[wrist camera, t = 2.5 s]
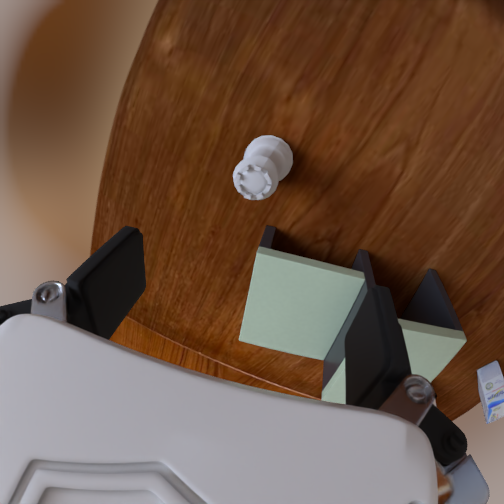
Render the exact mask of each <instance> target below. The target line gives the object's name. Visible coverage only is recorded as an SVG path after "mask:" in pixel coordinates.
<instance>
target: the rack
mask: <svg viewBox="0 0 504 504" xmlns="http://www.w3.org/2000/svg"><path fill="white" fill-rule="evenodd" d="M275 230H276V227H272V226H268V225H267V226H266V228H265V231H264V234H263V237H262V239H261V242H260V245H259V248H258V251H257V254H256V259H255V263H254V268H253V273H252V278H251V283H250V288H249V293H248V298H247V303H246V307H245V312H244V317H243V322H242V327H241V332H240V337H239V341H243V342H246V343H250V344H254V345H258V346H262V347H266V348H270V349H274V350H279V351H283V352H287V353H292V354H296V355H301V356H305V357H310V358H315V359H320V360H324V369H323V387H322V401H328V402H334V403H341V404H346V385H345V345H344V341H345V336H346V333H347V331H348V329H349V327H350V326H351V324H352V322H353V320H354V318H355V316H356V314H357V312H358V310H359V308H360V306H361V304H362V302H363V299H364V297H365V295H366V293H367V291H368V289H369V288H370V287H372V288H373V287H374V286H375V285H376V284H375V280H374V275H373V271H372V267H371V263H370V259H369V255H368V251H365V250H361V249H359V251H358V254H357V256H356V258H355V261H354V263H353V266H352V268H351V269H348V268H344V267H340V266H336V265H333V264H329V263H325V262H321V261H317V260H313V259H309V258H305V257H301V256H297V255H293V254H289V253H285V252H281V251H277V250H273V249H271V247H272V243H273V239H274V234H275ZM398 322H399V324H400V325H401V327H402V331H403V335H404V339H405V343H406V348H407V352H408V357H409V361H410V366H411V371H412V374H418V375H421V376H423V377H425V378H426V379H427V380H428V381H429V382H431V381H432V380H433V379H434V378H435V377H436V376H437V375H438V374H439V373H440V372H441V371H442V370H443V368H444V367H445V366H446V365H447V364H448V363H449V362H450V360H451V359H452V358H453V357H454V356H455V355H456V353H457V352H458V351H459V350H460V349H461V347H462V346H463V345H464V344H465V342H466V341H467V340H466V337H465V334H464V332H463V329H462V327H461V324H460V322H459V320H458V317H457V315H456V313H455V310H454V308H453V306H452V303H451V301H450V299H449V297H448V295H447V293H446V291H445V288H444V286H443V284H442V282H441V280H440V278H439V276H438V274H437V272H436V270H433V269H428V271H427V273H426V275H425V277H424V279H423V281H422V282H421V284H420V286H419V288H418V290H417V291H416V293H415V295H414V297H413V298H412V300H411V302H410V303H409V305H408V307H407V308H406V310H405V312H404V313H403V315H402V317H401V318H400V319H398Z"/></svg>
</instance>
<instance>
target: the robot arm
mask: <svg viewBox="0 0 504 504" xmlns="http://www.w3.org/2000/svg"><path fill="white" fill-rule="evenodd" d="M145 287H146V278H145V266H144V251H143V235H142V233H140V231H139V229H138V228H133V227H129V226H125V227H123V228H122V229H121V230H120V231H119V232H118V233H116V234H115V235H114V236H113V237H112V238H111V239H109V240H108V241H107V242H106V243H105V244H104V245H103V246H102V247H100V248H99V249H98V250H97V251H96V252H95V253H94V254H93V255H92V256H90V257H89V258H88V259H87V260H86V261H85V262H84V263H83V264H82V265H81V266H80V267H79V268H78V269H77V270H75V271H74V272H73V273H72V274H71V275H70V276H69V277H68V278H67V283H66V285H63V284H62V283H60V282H59V281H48V282H45V283H43V284H41V285H39V286H38V287H37V288H36V289H35V291H34V292H33V296H32V299H30V300H26V301H21V302H17V303H13V304H8V305H4V306H0V504H486V503H487V501H488V499H489V487H488V485H487V483H486V481H485V479H484V478H483V476H482V474H481V472H480V470H479V469H478V467H477V465H476V463H475V462H474V460H473V458H472V456H471V455H468V456H467V455H466V450H467V439H466V437H465V435H464V433H463V432H462V431H461V430H460V429H459V428H458V427H457V426H456V425H455V424H454V423H453V422H452V421H451V420H450V419H449V418H448V417H446V416H445V415H444V414H443V413H442V412H441V411H440V410H439V409H438V408H437V407H436V406H435V405H434V404H433V402H434V399H435V391H434V388H433V386H432V384H431V383H430V382H429V381H428V380H427V379H426V378H425V377H423V376H421V375H418V374H412V371H411V366H410V361H409V357H408V352H407V348H406V343H405V339H404V335H403V331H402V327H401V325H400V324H399V322H398V318H397V314H396V310H395V307H394V303H393V299H392V296H391V292H390V289H389V288H388V287H384V286H379V285H375V286H374V287H373V288H372V287H370V288H369V289H368V291H367V293H366V295H365V297H364V299H363V302H362V304H361V306H360V308H359V310H358V312H357V314H356V316H355V318H354V320H353V322H352V324H351V326H350V327H349V329H348V331H347V333H346V336H345V341H344V345H345V385H346V405H345V404H339V403H332V402H326V401H321V400H315V399H310V398H304V397H298V396H293V395H288V394H283V393H278V392H274V391H269V390H265V389H260V388H256V387H252V386H248V385H244V384H240V383H236V382H232V381H228V380H224V379H221V378H217V377H214V376H210V375H207V374H203V373H200V372H197V371H193V370H190V369H187V368H184V367H181V366H178V365H175V364H171V363H169V362H166V361H163V360H160V359H157V358H154V357H151V356H148V355H146V354H143V353H140V352H138V351H135V350H132V349H130V348H127V347H125V346H122V345H120V344H117V343H115V342H112V341H110V340H109V339H110V337H111V336H112V335H113V333H114V332H115V330H116V329H117V327H118V326H119V325H120V323H121V322H122V321H123V319H124V318H125V316H126V315H127V314H128V312H129V311H130V310H131V308H132V307H133V305H134V304H135V303H136V301H137V300H138V299H139V297H140V296H141V295H142V293H143V292H144V290H145Z"/></svg>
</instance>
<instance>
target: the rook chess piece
mask: <svg viewBox="0 0 504 504" xmlns="http://www.w3.org/2000/svg"><path fill="white" fill-rule="evenodd" d="M292 164H293V154H292V152H291V149H290V147H289V145H288V144H287V143H285V142H284V141H283V140H282V139H280V138H278V137H275V136H272V135H269V136H261V137H259V138H256V139H254V140H253V141H252V142H251V143H250V145H249V146H248V147H247V149H246V152H245V154H244V160H242V161H241V162H240V163H239V164H238V165H237V166H236V167H235V170H234V174H233V180H234V185H235V187H236V189H237V191H238V193H239V192H240V193H241V194H242V195H243V196H244V198H247V199H250V200H251V199H252V200H262V199H265V198H267V197H269V196H270V195H271V194H272V193H273V192H275V190H276V187H277V185H278V181H280V180H282V179H283V178H284V177H285V176H286V175H287V174H288V173H289V172H290V169H291V167H292Z"/></svg>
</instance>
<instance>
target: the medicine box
mask: <svg viewBox="0 0 504 504" xmlns="http://www.w3.org/2000/svg"><path fill="white" fill-rule="evenodd" d="M477 375H478V391H479V395H480V399H481V403H482V407H483V412H484V416H485V420H486V423H487V424H488V423H490V422H493V421H495V420H497V419H499V418H501V417H503V416H504V378H503V375H502V372H501V369H500V366H499V364H498V361H494V362H492V363H490V364H488V365H486V366H484V367H482V368H480V369H478V370H477Z"/></svg>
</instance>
